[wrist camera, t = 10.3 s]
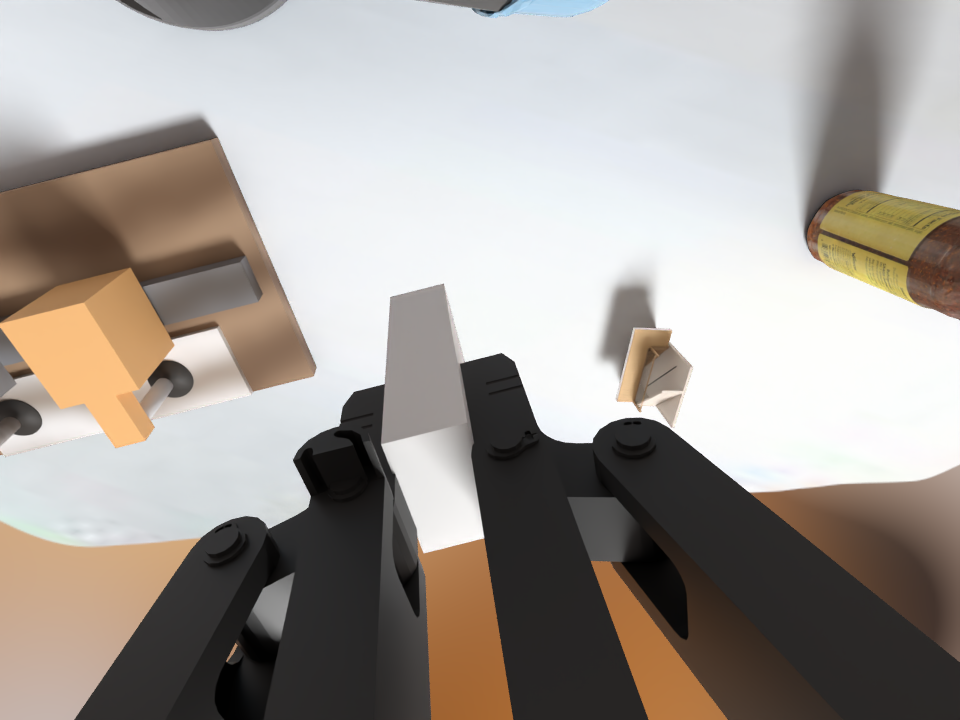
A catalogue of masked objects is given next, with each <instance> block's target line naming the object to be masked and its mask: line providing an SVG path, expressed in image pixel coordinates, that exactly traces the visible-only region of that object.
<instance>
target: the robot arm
mask: <svg viewBox="0 0 960 720" xmlns="http://www.w3.org/2000/svg"><path fill="white" fill-rule="evenodd" d="M116 1H118V2H120V3H121V4H123V5H125V6H126V7H128V8H130V9H132V10H134V11H136V12H138V13H140V14H142V15H144V16H146V17H149V18H151V19H154V20H157V21H159V22H162V23H166V24H169V25H173V26H178V27H183V28H190V29H197V30H207V31H221V30H230V29H235V28H240V27H244V26H247V25H250V24H252V23H255V22H257V21H259V20H261V19H263V18H265V17H267V16H268V15H270V14H271V13H273V12H274V11H276V10H277V9H278V8H280V7H281V6H282V5H283V4H284V3H285V2H286V1H287V0H116ZM417 1H424V2H432V3H439V4H446V5H453V6H461V7H468V8H472V10H473V11H474V12H476V13H477V14H479V15H481V16H485V17H490V18H497V17H498V16H509V15H511V14H513V13H516V14H528V15H540V16H551V17H573V16H574V15H578V14H581V13H585V12H589V11H591V10H593V9H594V8H597V7H599V6H601V5H603V4H604V3H606V2H607V1H609V0H417ZM340 421H341V424H340V426H339V427H335V428H332V429H329V430H327V431H324V432H321V433H320V434H318V435H316V436H315V437H313V438H311V439H310V440H308V441H307V442H306V443H305V444H304V445H303V446H302V447H301V448H300V449H299V450H298V452H297V453H296V455H295V457H294V459H293V462H294V464H295V466H296V468H297V470H298V472H299V473H300V475H301V477H302V479H303V481H304V483H305V485H306V487H307V489H308V491H309V493H310V495H311V499H310V503H309V507H308V508H307V509H306V510H305V511H303V512H301V513H299V514H298V515H296V516H294V517H292V518H290V519H288V520H286V521H284V522H282V523H280V524H278V525H276V526H274V527H272V528H270V529H268V528H267V526H266V524H265V523H264V522H263V521H261V520H260V519H259V518H257V517H248V516H245V517H240V518H236V519H231V520H229V521H227V522H225V523H223V524H221V525H219V526H217V527H215V528H214V529H212V530H211V531H210V532H208V533H207V534H206V535H204V536H203V537H202V538H201V539H200V540H199V541H198V542H197V544H196V545H195V546H194V547H193V548H192V549H191V551H190V552H189V553H188V555H187V556H186V558H185V559H184V561H183V562H182V564H181V565H180V567H179V568H178V569H177V571H176V572H175V574H174V576H173V577H172V578H171V580H170V581H169V583H168V584H167V586H166V587H165V588H164V590H163V591H162V593H161V594H160V596H159V597H158V599H157V600H156V602H155V603H154V604H153V606H152V607H151V609H150V610H149V612H148V613H147V615H146V616H145V618H144V619H143V621H142V622H141V623H140V625H139V626H138V628H137V629H136V631H135V632H134V634H133V635H132V637H131V638H130V640H129V641H128V642H127V644H126V645H125V647H124V648H123V650H122V651H121V653H120V654H119V656H118V657H117V658H116V660H115V661H114V663H113V664H112V666H111V667H110V669H109V670H108V671H107V673H106V675H105V676H104V677H103V679H102V681H101V682H100V683H99V685H98V686H97V688H96V689H95V691H94V692H93V693H92V695H91V696H90V698H89V699H88V701H87V702H86V704H85V705H84V706H83V708H82V709H81V711H80V712H79V714H78V715H77V717H76V718H75V720H431V706H430V682H429V658H428V634H427V609H426V587H425V586H426V585H425V574H424V571H423V568H422V565H421V563H420V560H419V558H418V546H417V537H418V539H419V542H420V545H421V547H422V550H423V552H424V553H426V552H430V551H434V550H438V549H443V548H447V547H450V546H454V545H458V544H462V543H466V542H470V541H474V540H478V539H482V538H484V539H485V545H486V551H487V558H488V564H489V570H490V576H491V583H492V589H493V595H494V602H495V607H496V613H497V619H498V626H499V633H500V639H501V645H502V651H503V657H504V664H505V670H506V676H507V682H508V688H509V695H510V701H511V707H512V713H513V719H514V720H648V717H647V714H646V712H645V709H644V706H643V703H642V701H641V698H640V695H639V693H638V690H637V687H636V685H635V682H634V679H633V676H632V673H631V671H630V668H629V665H628V663H627V660H626V657H625V654H624V652H623V649H622V646H621V643H620V641H619V638H618V635H617V632H616V630H615V627H614V624H613V621H612V619H611V616H610V613H609V610H608V608H607V605H606V602H605V600H604V597H603V594H602V591H601V588H600V586H599V583H598V580H597V578H596V575H595V572H594V569H593V567H592V564H591V561H611V564H612V565H613V568H614V569H615V570H616V572H617V573H618V575H619V576H620V577H621V579H622V580H623V581H624V582H625V584H626V585H627V586H628V588H629V589H630V590H631V592H632V593H633V594H634V596H635V597H636V598H637V600H638V601H639V602H640V603H641V605H642V606H643V608H644V609H645V610H646V611H647V613H648V614H649V615H650V617H651V618H652V620H653V621H654V622H655V624H656V625H657V626H658V627H659V629H660V630H661V631H662V633H663V634H664V636H665V637H666V638H667V639H668V641H669V642H670V643H671V645H672V646H673V647H674V649H675V650H676V651H677V653H678V654H679V655H680V657H681V658H682V659H683V661H684V662H685V663H686V665H687V666H688V667H689V668H690V670H691V671H692V673H693V674H694V675H695V677H696V678H697V679H698V681H699V682H700V683H701V684H702V686H703V687H704V688H705V690H706V691H707V692H708V694H709V695H710V696H711V698H712V699H713V700H714V702H715V703H716V704H717V706H718V707H719V708H720V710H721V711H722V712H723V714H724V715H725V716H726V717H727V719H728V720H960V662H958V661H957V660H956V659H955V658H954V657H952V656H951V655H950V654H949V653H947V652H946V651H945V650H944V649H943V648H941V647H940V646H939V645H938V644H936V643H935V642H934V641H933V640H931V639H930V638H929V637H927V636H926V635H925V634H924V633H923V632H921V631H920V630H919V629H918V628H916V627H915V626H914V625H913V624H911V623H910V622H909V621H908V620H906V619H905V618H904V617H903V616H902V615H900V614H899V613H898V612H896V611H895V610H894V609H893V608H892V607H890V606H889V605H888V604H887V603H885V602H884V601H883V600H882V599H880V598H879V597H878V596H877V595H875V594H874V593H873V592H872V591H871V590H869V589H868V588H867V587H866V586H864V585H863V584H862V583H860V582H859V581H858V580H857V579H856V578H854V577H853V576H852V575H850V574H849V573H848V572H847V571H846V570H844V569H843V568H842V567H841V566H839V565H838V564H837V563H836V562H835V561H833V560H832V559H831V558H830V557H828V556H827V555H826V554H825V553H823V552H822V551H821V550H820V549H818V548H817V547H816V546H815V545H813V544H812V543H811V542H810V541H809V540H807V539H806V538H805V537H803V536H802V535H801V534H800V533H799V532H797V531H796V530H795V529H794V528H792V527H791V526H790V525H789V524H787V523H786V522H785V521H784V520H782V519H781V518H780V517H779V516H778V515H776V514H775V513H774V512H772V511H771V510H770V509H769V508H768V507H766V506H765V505H764V504H763V503H761V502H760V501H759V500H758V499H756V498H755V497H754V496H753V495H751V494H750V493H749V492H748V491H746V490H745V489H744V488H743V487H742V486H740V485H739V484H738V483H737V482H735V481H734V480H733V479H732V478H730V477H729V476H728V475H727V474H725V473H724V472H723V471H722V470H720V469H719V468H718V467H717V466H715V465H714V464H713V463H712V462H711V461H709V460H708V459H707V458H706V457H704V456H703V455H702V454H701V453H699V452H698V451H697V450H696V449H694V448H693V447H692V446H691V445H689V444H688V443H687V442H686V441H684V440H683V439H682V438H681V437H679V436H678V435H677V434H676V433H675V432H673V431H672V430H671V429H670V428H668V427H667V426H665V425H663V424H661V423H659V422H657V421H654V420H650V419H645V418H625V419H621V420H617V421H614V422H611V423H609V424H608V425H606V426H604V427H603V428H601V429H600V430H599V431H598V433H597V434H596V436H595V437H594V438H593V443H565V442H561V441H556V440H554V439H552V438H550V437H548V436H546V435H545V434H544V433H543V432H541V431H540V429H539V427H538V425H537V423H536V420H535V418H534V415H533V412H532V409H531V406H530V404H529V401H528V398H527V395H526V393H525V390H524V387H523V384H522V381H521V379H520V377H519V373H518V370H517V368H516V365H515V362H514V361H512V360H511V359H510V358H508V357H507V356H505V355H504V354H502V353H501V354H497V355H493V356H489V357H485V358H481V359H477V360H473V361H469V362H465V361H464V357H463V353H462V350H461V346H460V342H459V338H458V335H457V331H456V327H455V324H454V320H453V316H452V313H451V309H450V305H449V301H448V298H447V294H446V290H445V287H444V284H440V285H436V286H433V287H429V288H425V289H421V290H417V291H413V292H409V293H405V294H401V295H397V296H393V297H390V312H389V328H388V343H387V359H386V375H385V384H384V385H380V386H376V387H372V388H368V389H364V390H360V391H356V392H354V393H353V394H352V395H351V397H350V398H349V399H348V401H347V402H346V403H345V405H344V406H343V409H342V415H341V420H340ZM235 643H236V644H237V645H238V646H237V648H236V650H235V652H234V654H233V655H232V656H231V658H230V659H229V661H228V662H226V660H227V658H228V656H229V654H230V652H231V650H232V648H233V647H234V645H235Z"/></svg>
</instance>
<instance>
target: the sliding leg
mask: <svg viewBox="0 0 960 720" xmlns="http://www.w3.org/2000/svg"><path fill="white" fill-rule="evenodd" d="M0 328H1V329H2V331H3V332H4V333H5V335H6V336H7V337H8V339H9V340H10V341H11V343H12V344H13V345H14V347H15V348H16V350H17V351H18V352H19V354H20V355H21V356H22V358H23V359H24V360H25V362H26V363H27V364H28V366H29V367H30V369H31V370H32V371H33V373H34V374H35V375H36V377H37V378H38V379H39V381H40V382H41V383H42V385H43V386H44V388H45V389H46V390H47V392H48V393H49V394H50V396H51V397H52V398H53V400H54V401H55V402H56V404H57V405H58V406H59V408H60V409H64V408H68V407H72V406H76V405H80V404H85V405H86V407H87V408H88V410H89V411H90V412H91V414H92V415H93V417H94V418H95V419H96V421H97V422H98V424H99V425H100V427H101V428H102V429H103V431H104V432H105V434H106V435H107V436H108V438H109V439H110V441H111V442H112V444H113V445H114V446H115V448H118V447H122V446H126V445H130V444H134V443H138V442H142V441H146V439H147V438H148V436H149V435H150V433H151V432H152V430H153V429H154V425H153V424H152V422H151V418H152V417H153V416H154V414H155V413H156V411H157V410H158V408H159V407H160V406H161V404H162V403H163V401H164V400H165V399H166V397H167V396H168V394H169V393H170V392H171V390H172V389H173V384H172V382H171V381H170V380H168V379H166V378H160V379H158V380H157V381H156V382H155V383H154V385H153V386H152V387H151V389H150V390H149V391H148V393H147V394H146V395H145V396H144V398H143V399H142V400H141V402H140V403H139V402H138V400H137V399H136V397H135V396H134V394H133V393H132V391H136V390H139V389H140V388H141V387H142V385H143V384H144V383H145V382H146V380H147V379H148V378H149V377H150V376H151V374H152V373H153V372H154V371H155V369H156V368H157V367H158V366H159V364H160V363H161V362H162V361H163V359H164V358H165V357H166V356H167V354H168V353H169V352H170V351H171V350H172V348H173V347H174V346H175V345H174V343H173V341H172V340H171V338H170V336H169V334H168V333H167V331H166V329H165V327H164V326H163V324H162V322H161V320H160V319H159V317H158V315H157V313H156V312H155V310H154V308H153V306H152V305H151V303H150V301H149V299H148V298H147V296H146V294H145V292H144V291H143V289H142V287H141V285H140V283H139V282H138V280H137V278H136V276H135V275H134V273H133V271H132V269H131V268H126V269H122V270H118V271H114V272H110V273H106V274H102V275H98V276H94V277H90V278H86V279H82V280H78V281H74V282H71V283H67V284H63V285H59V286H56V287H54V288H53V289H51V290H50V291H48V292H47V293H45V294H44V295H42V296H41V297H39V298H38V299H36V300H34V301H33V302H31V303H30V304H28V305H27V306H25V307H24V308H22V309H21V310H19V311H17V312H16V313H14V314H13V315H11V316H10V317H8V318H7V319H5V320H4V321H2V322H1V323H0Z"/></svg>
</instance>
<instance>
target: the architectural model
mask: <svg viewBox="0 0 960 720" xmlns="http://www.w3.org/2000/svg"><path fill="white" fill-rule="evenodd" d="M671 333H672V330H671V329H660V328H635V327H634V328H633V332H632V336H631V340H630V344H629V348H628V352H627V356H626V360H625V364H624V368H623V372H622V376H621V380H620V384H619V388H618V392H617V396H616V401H617V402H633V403H634V405H635V406H636V408H637V409H638V411H639V412H641V408H642V406H656V407H657V408H658V410H659V411H660V412H661V414H662V415H663V417H664V418H665V419H666V421H667V422H668V423H669V425H670V426H671V428H674V426H675V423H676V420H677V417H678V414H679V411H680V407H681V404H682V401H683V398H684V395H685V392H686V389H687V385H688V382H689V379H690V376H691V373H692V370H693V367H692V365H691V364H690V363H689V362H688V361H687V360H686V359H685V358H684V357H683V356H682V355H681V354H680V353H679V352H678V351H677V350H676V348H675V347H674V346H673V345H672V344H671V343H670V342H669V340H670V337H671ZM644 390H645V391H644ZM639 406H640V408H639Z"/></svg>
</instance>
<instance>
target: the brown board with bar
mask: <svg viewBox="0 0 960 720" xmlns="http://www.w3.org/2000/svg"><path fill="white" fill-rule="evenodd" d="M126 268H131V269H132V271H133V273H134V275H135V276H136V278H137V280H138V282H139V283H140V285H141V287H142V289H143V291H144V292H145V294H146V296H147V298H148V299H149V301H150V303H151V305H152V306H153V308H154V310H155V312H156V313H157V315H158V317H159V319H160V320H161V322H162V324H163V326H164V327H165V329H166V331H167V333H168V334H169V336H170V338H171V340H172V341H173V343H174V345H175V346H174V347H173V348H172V350H171V351H170V352H169V353H168V354H167V356H166V357H165V358H164V359H163V361H162V362H161V363H160V364H159V366H158V367H157V368H156V369H155V371H154V372H153V373H152V374H151V376H150V377H149V378H148V379H147V380H146V382H145V383H144V384H143V385H142V387H141V388H140V389H139V390H136V391H132V393H133V394H134V396H135V397H136V399H137V400H138V402H139V403H140V402H141V400H142V399H143V398H144V396H145V395H146V394H147V393H148V391H149V390H150V389H151V387H152V386H153V385H154V383H155V382H156V381H157V380H158V379H160V378H166V379H168V380H170V381H171V382H172V384H173V389H172V390H171V392H170V393H169V394H168V396H167V397H166V399H165V400H164V401H163V403H162V404H161V406H160V407H159V408H158V410H157V411H156V413H155V414H154V416H153V417H152V418H151V420H154V419H158V418H162V417H166V416H170V415H174V414H178V413H182V412H186V411H190V410H193V409H197V408H201V407H205V406H209V405H213V404H217V403H221V402H225V401H229V400H233V399H237V398H241V397H245V396H249V395H252V392H253V391H257V390H261V389H265V388H269V387H273V386H277V385H281V384H285V383H289V382H293V381H297V380H301V379H305V378H309V377H313V376H314V374H315V370H316V365H315V362H314V360H313V358H312V355H311V353H310V351H309V348H308V346H307V344H306V341H305V339H304V337H303V334H302V332H301V330H300V328H299V325H298V323H297V321H296V318H295V316H294V314H293V311H292V309H291V307H290V304H289V302H288V300H287V297H286V295H285V293H284V290H283V288H282V286H281V283H280V281H279V279H278V276H277V274H276V272H275V269H274V267H273V265H272V262H271V260H270V258H269V255H268V253H267V251H266V249H265V246H264V244H263V242H262V239H261V237H260V235H259V232H258V230H257V228H256V225H255V223H254V221H253V218H252V216H251V214H250V211H249V209H248V207H247V204H246V202H245V200H244V197H243V195H242V193H241V190H240V188H239V186H238V183H237V181H236V179H235V176H234V174H233V172H232V169H231V167H230V165H229V163H228V160H227V158H226V156H225V153H224V151H223V149H222V146H221V144H220V142H219V139H218V137H217V138H213V139H209V140H205V141H202V142H198V143H194V144H190V145H186V146H182V147H178V148H174V149H170V150H166V151H162V152H158V153H154V154H150V155H146V156H142V157H138V158H134V159H130V160H126V161H123V162H119V163H115V164H111V165H107V166H103V167H99V168H95V169H91V170H87V171H83V172H79V173H75V174H71V175H67V176H63V177H59V178H55V179H51V180H47V181H43V182H40V183H36V184H32V185H28V186H24V187H20V188H16V189H12V190H8V191H4V192H0V323H1V322H2V321H4V320H5V319H7V318H8V317H10V316H11V315H13V314H14V313H16V312H17V311H19V310H21V309H22V308H24V307H25V306H27V305H28V304H30V303H31V302H33V301H34V300H36V299H38V298H39V297H41V296H42V295H44V294H45V293H47V292H48V291H50V290H51V289H53V288H54V287H56V286H59V285H63V284H67V283H71V282H74V281H78V280H82V279H86V278H90V277H94V276H98V275H102V274H106V273H110V272H114V271H118V270H122V269H126ZM102 432H104V431H103V429H102V428H101V427H100V425H99V424H98V422H97V421H96V419H95V418H94V417H93V415H92V414H91V412H90V411H89V410H88V408H87V407H86V405H85V404H80V405H76V406H72V407H68V408H64V409H60V408H59V406H58V405H57V404H56V402H55V401H54V400H53V398H52V397H51V396H50V394H49V393H48V392H47V390H46V389H45V388H44V386H43V385H42V383H41V382H40V381H39V379H38V378H37V377H36V375H35V374H34V373H33V371H32V370H31V369H30V367H29V366H28V364H27V363H26V362H25V360H24V359H23V358H22V356H21V355H20V354H19V352H18V351H17V350H16V348H15V347H14V345H13V344H12V343H11V341H10V340H9V339H8V337H7V336H6V335H5V333H4V332H3V331H2V329H1V328H0V455H4V456H5V457H7V456H11V455H15V454H19V453H23V452H27V451H31V450H35V449H39V448H43V447H47V446H51V445H55V444H59V443H63V442H67V441H70V440H74V439H78V438H82V437H86V436H90V435H94V434H98V433H102Z"/></svg>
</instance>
